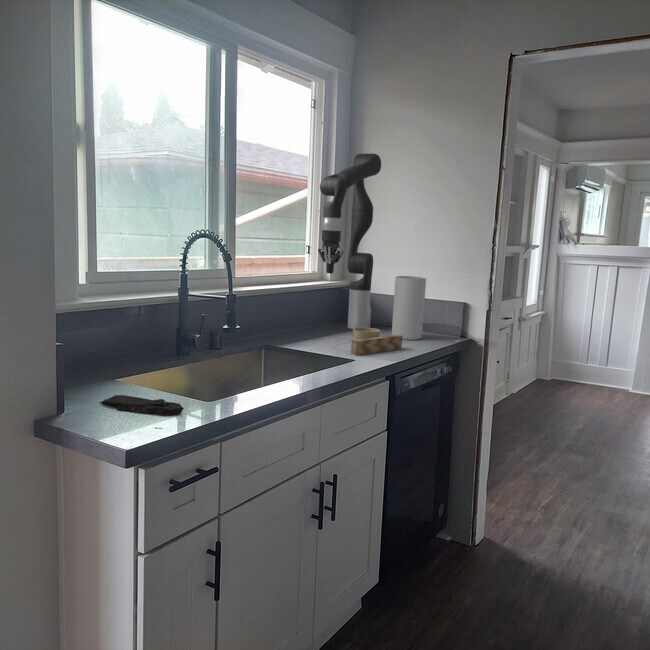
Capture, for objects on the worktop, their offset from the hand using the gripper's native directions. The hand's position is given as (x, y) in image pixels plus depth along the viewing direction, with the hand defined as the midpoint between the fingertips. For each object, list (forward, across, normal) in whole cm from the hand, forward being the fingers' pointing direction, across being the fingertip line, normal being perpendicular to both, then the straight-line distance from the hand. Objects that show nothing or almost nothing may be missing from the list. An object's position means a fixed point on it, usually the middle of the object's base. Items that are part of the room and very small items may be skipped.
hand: (329, 273), depth 248 cm
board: (+25, -32, +3) cm, 41 cm away
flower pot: (+26, -26, +3) cm, 36 cm away
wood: (+25, -50, +104) cm, 118 cm away
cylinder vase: (+26, -18, -29) cm, 43 cm away
